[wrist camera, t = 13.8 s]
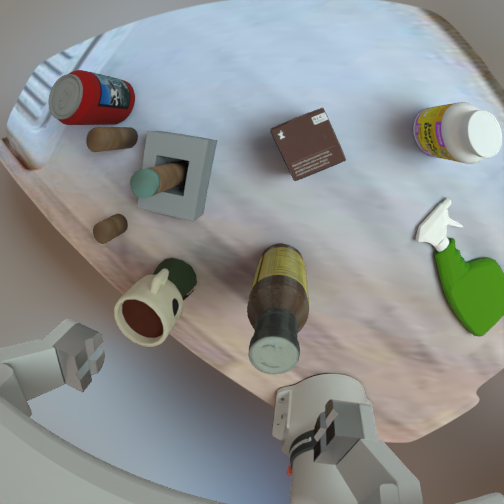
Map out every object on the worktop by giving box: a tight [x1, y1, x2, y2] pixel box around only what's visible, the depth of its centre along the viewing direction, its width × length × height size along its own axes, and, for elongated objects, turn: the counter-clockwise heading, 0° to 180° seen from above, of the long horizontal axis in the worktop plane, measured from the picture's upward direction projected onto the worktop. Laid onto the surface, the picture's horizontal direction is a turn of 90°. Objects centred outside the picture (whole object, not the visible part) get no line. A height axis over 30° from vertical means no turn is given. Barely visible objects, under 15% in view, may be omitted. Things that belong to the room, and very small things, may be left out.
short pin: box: [93, 214, 128, 244], centre depth 40 cm, size 3×3×5 cm
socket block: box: [137, 131, 217, 222], centre depth 37 cm, size 10×8×4 cm
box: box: [270, 108, 346, 181], centre depth 32 cm, size 6×6×7 cm
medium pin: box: [87, 127, 138, 152], centre depth 34 cm, size 3×3×8 cm
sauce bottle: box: [247, 244, 309, 374], centre depth 32 cm, size 6×6×20 cm
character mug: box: [114, 258, 197, 347], centre depth 38 cm, size 11×7×13 cm, turn 156°
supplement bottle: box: [413, 102, 502, 164], centre depth 26 cm, size 7×7×13 cm
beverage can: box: [49, 70, 135, 125], centre depth 30 cm, size 7×7×12 cm
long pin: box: [130, 161, 189, 199], centre depth 33 cm, size 3×3×11 cm
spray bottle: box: [415, 198, 504, 336], centre depth 36 cm, size 3×11×24 cm
